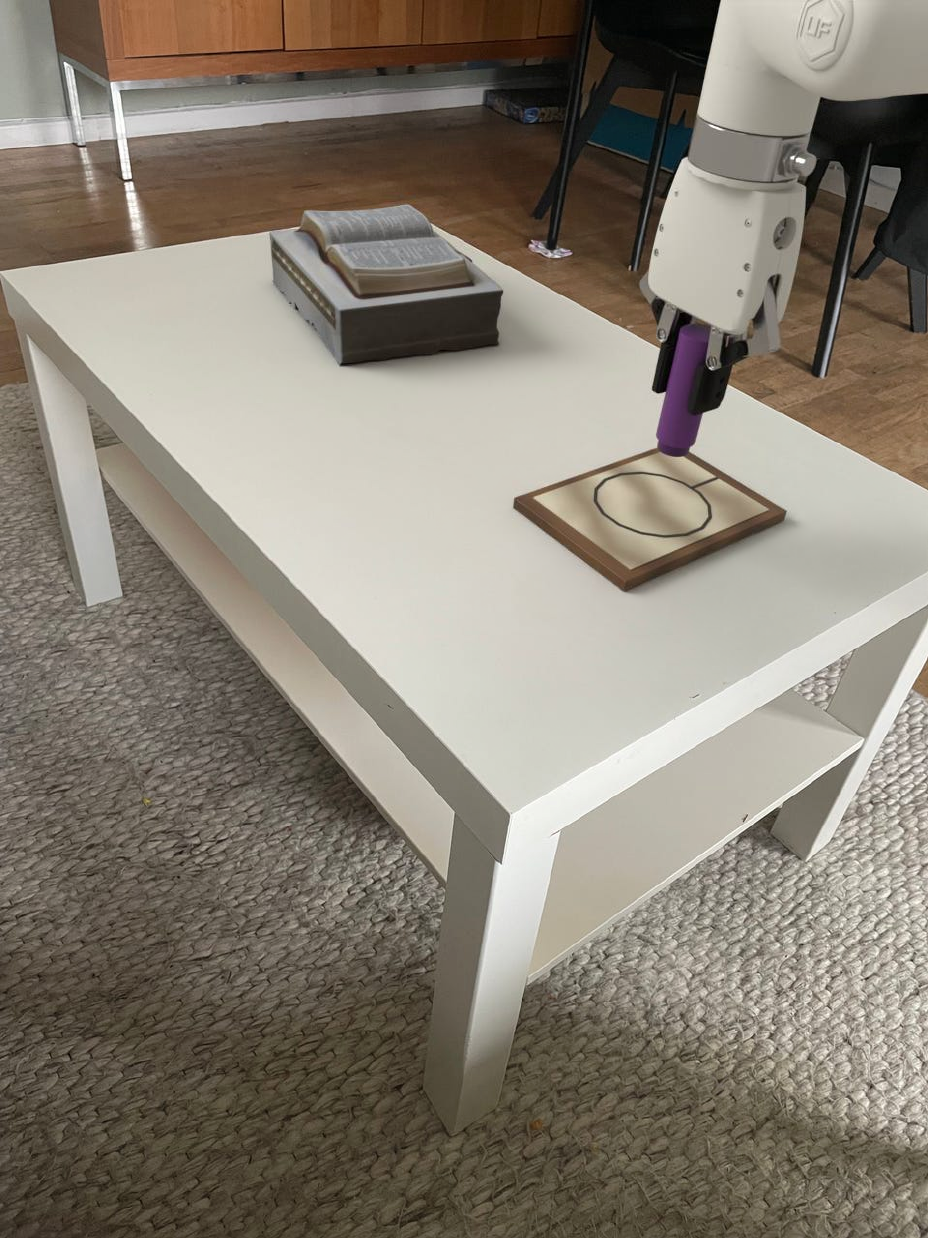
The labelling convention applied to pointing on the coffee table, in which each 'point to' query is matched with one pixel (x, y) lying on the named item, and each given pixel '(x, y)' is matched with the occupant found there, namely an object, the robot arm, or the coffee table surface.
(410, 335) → the bible
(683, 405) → the marker
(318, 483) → the coffee table surface
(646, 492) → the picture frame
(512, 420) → the coffee table surface
